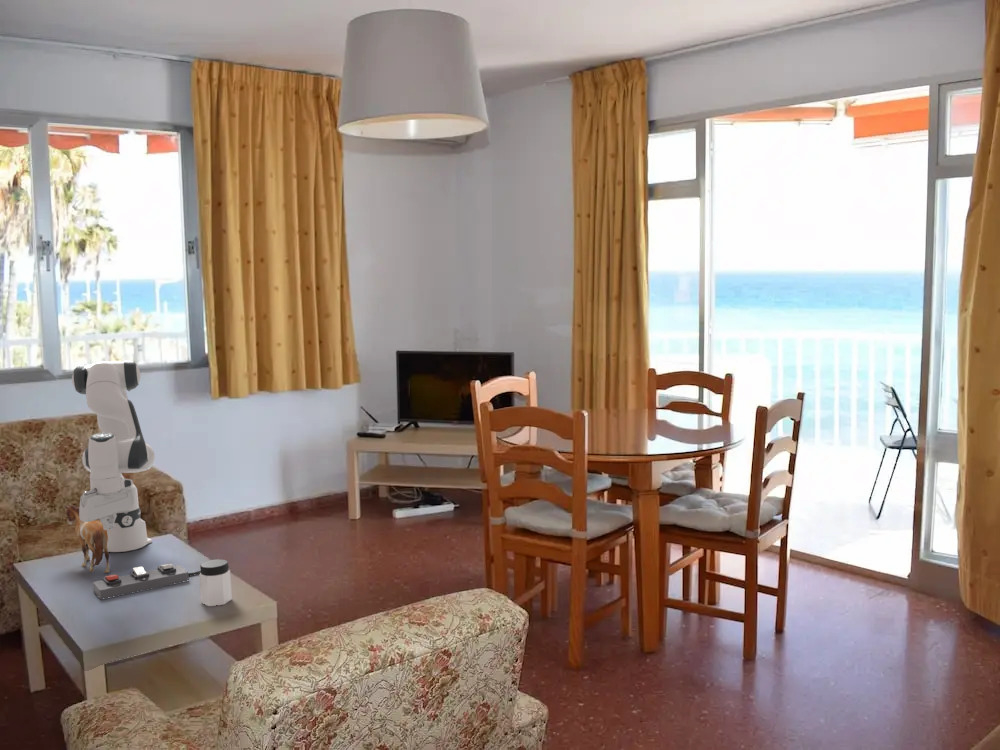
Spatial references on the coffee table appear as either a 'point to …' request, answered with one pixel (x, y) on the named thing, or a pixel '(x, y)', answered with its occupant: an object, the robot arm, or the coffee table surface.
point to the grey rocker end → (166, 566)
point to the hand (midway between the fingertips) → (108, 528)
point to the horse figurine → (90, 538)
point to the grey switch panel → (141, 581)
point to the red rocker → (111, 577)
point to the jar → (215, 582)
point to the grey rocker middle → (139, 571)
